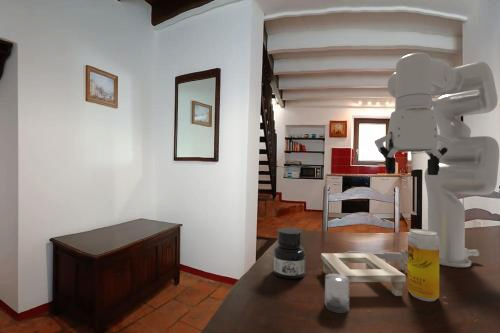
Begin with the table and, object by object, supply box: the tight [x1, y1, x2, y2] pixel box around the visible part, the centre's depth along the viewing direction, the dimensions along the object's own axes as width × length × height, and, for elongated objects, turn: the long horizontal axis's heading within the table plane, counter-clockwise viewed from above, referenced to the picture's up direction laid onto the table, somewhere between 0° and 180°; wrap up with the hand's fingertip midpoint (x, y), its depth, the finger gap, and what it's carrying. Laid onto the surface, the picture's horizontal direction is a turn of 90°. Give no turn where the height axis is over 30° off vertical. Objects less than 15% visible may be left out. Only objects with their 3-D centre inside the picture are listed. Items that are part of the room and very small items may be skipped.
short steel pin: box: [324, 273, 351, 314], centre depth 54 cm, size 5×5×6 cm
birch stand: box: [320, 252, 407, 297], centre depth 65 cm, size 15×15×5 cm
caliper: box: [344, 249, 408, 271], centre depth 79 cm, size 20×1×6 cm, turn 43°
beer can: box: [407, 228, 440, 302], centre depth 58 cm, size 6×6×15 cm
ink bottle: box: [273, 227, 307, 280], centre depth 70 cm, size 10×9×12 cm
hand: (411, 174), depth 62 cm, fingers open, 9 cm apart
